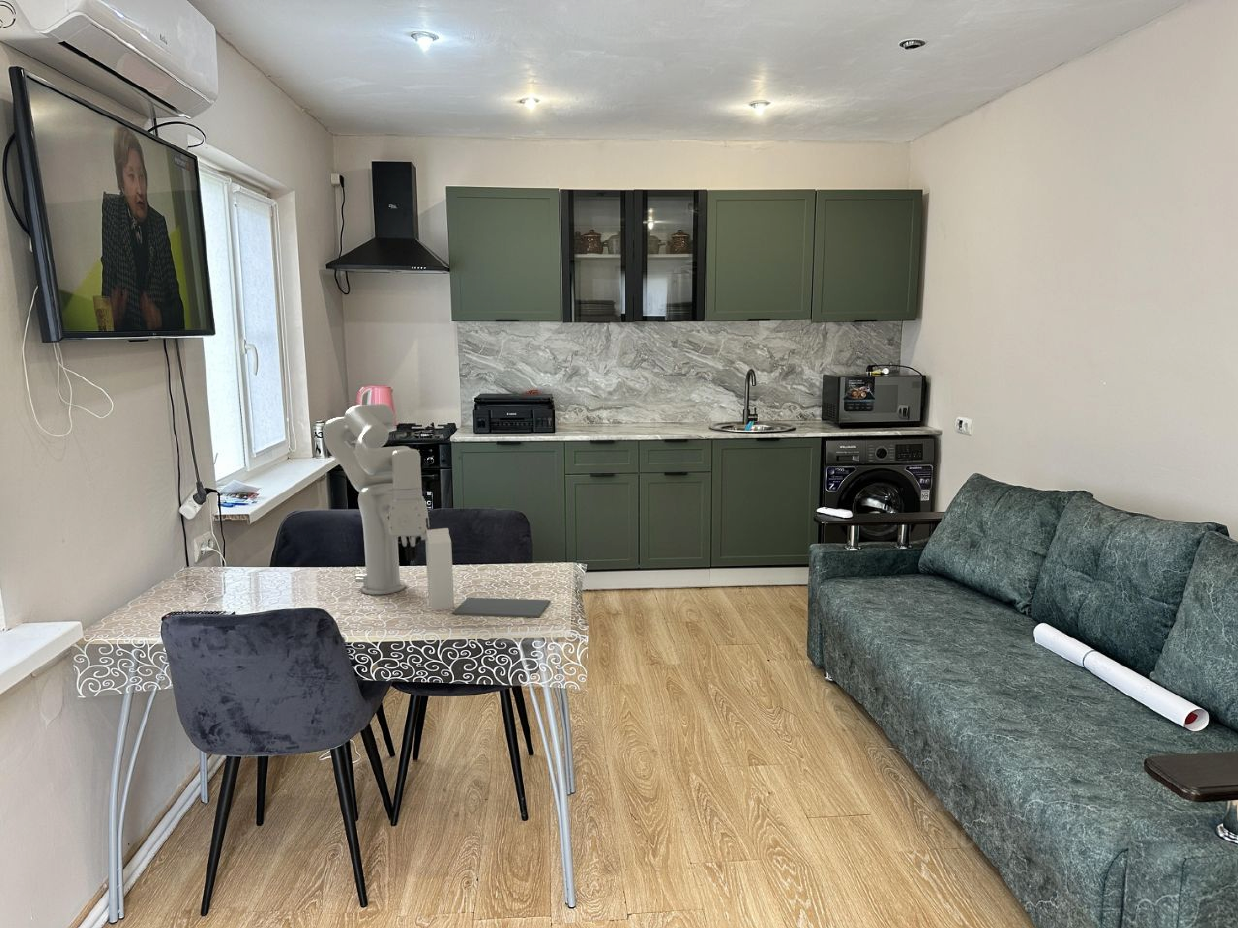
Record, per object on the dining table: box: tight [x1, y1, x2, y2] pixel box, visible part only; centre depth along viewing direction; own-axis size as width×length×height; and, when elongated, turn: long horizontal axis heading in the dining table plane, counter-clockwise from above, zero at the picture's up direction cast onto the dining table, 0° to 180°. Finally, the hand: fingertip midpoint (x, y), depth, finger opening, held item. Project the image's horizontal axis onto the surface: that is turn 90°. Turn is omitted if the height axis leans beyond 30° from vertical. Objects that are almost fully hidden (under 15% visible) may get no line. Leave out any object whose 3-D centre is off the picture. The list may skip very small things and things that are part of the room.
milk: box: [424, 527, 455, 612], centre depth 216 cm, size 6×6×22 cm
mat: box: [451, 597, 551, 619], centre depth 215 cm, size 24×13×1 cm, turn 82°
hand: (411, 559), depth 217 cm, fingers closed
